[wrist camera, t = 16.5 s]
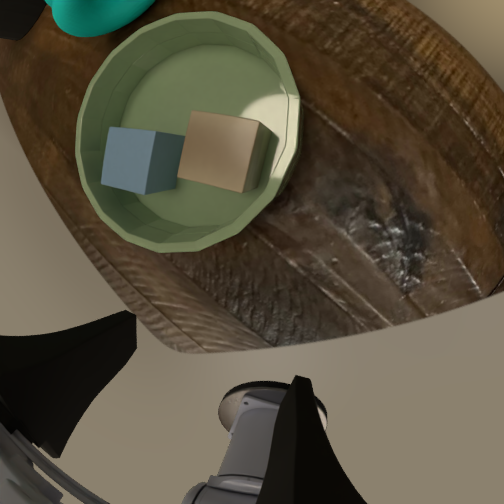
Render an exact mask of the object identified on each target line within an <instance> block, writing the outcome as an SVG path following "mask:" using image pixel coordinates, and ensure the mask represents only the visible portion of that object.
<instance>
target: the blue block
mask: <svg viewBox="0 0 504 504" xmlns="http://www.w3.org/2000/svg"><path fill="white" fill-rule="evenodd" d="M184 140H185V136H182V135H177V134H171V133H165V132H159V131H151V130H142V129H133V128H122V127H109V132H108V138H107V143H106V149H105V156H104V162H103V170H102V178H101V184H103V185H107V186H111V187H115V188H119V189H123V190H127V191H130V192H134V193H138V194H142V195H148V194H152V193H157V192H161V191H166V190H171V189H175V186H176V181H177V174H178V169H179V163H180V159H181V154H182V149H183V144H184Z"/></svg>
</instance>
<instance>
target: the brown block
mask: <svg viewBox="0 0 504 504" xmlns="http://www.w3.org/2000/svg"><path fill="white" fill-rule="evenodd" d="M271 134H272V131H271V130H270V129H269V128H268V127H266V126H265V125H264V124H263V123H261V122H260V121H257V120H252V119H247V118H242V117H236V116H231V115H224V114H218V113H211V112H204V111H196V110H192V111H191V115H190V119H189V123H188V127H187V131H186V136H185V140H184V144H183V149H182V154H181V159H180V163H179V169H178V174H177V177H178V178H182V179H186V180H190V181H194V182H198V183H202V184H206V185H210V186H214V187H218V188H222V189H226V190H230V191H234V192H238V193H245V192H247V191H250V190H253V189H256V188H258V185H259V181H260V177H261V173H262V169H263V165H264V161H265V157H266V153H267V149H268V145H269V141H270V137H271Z"/></svg>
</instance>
